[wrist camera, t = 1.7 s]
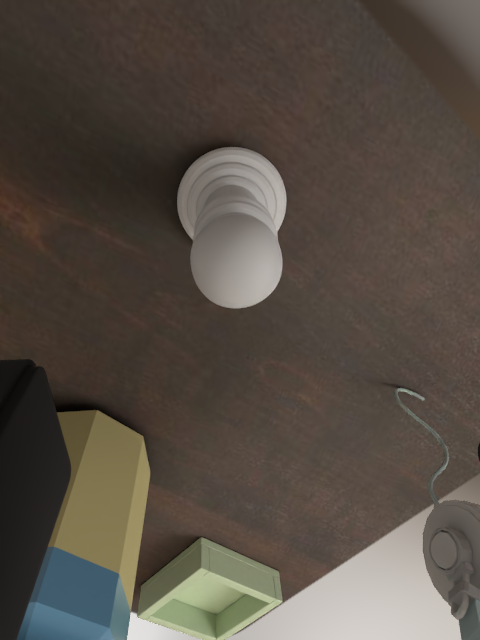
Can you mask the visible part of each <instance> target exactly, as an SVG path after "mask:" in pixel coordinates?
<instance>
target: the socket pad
mask: <svg viewBox="0 0 480 640" xmlns="http://www.w3.org/2000/svg"><path fill="white" fill-rule="evenodd" d="M140 592H141V593H140V599H139V607H138V614H137V617H138V618H141V619H144V620H147V621H149V622H153V623H155V624H158V625H161V626H164V627H167V628H170V629H173V630H176V631H179V632H182V633H185V634H188V635H191V636H194V637H197V638H199V639H202V640H225V639H227V638H228V637H230V636H232V635H233V634H235V633H236V632H238V631H239V630H241V629H242V628H244V627H245V626H247V625H248V624H250V623H251V622H253V621H254V620H256V619H257V618H259V617H261V616H262V615H264V614H265V613H267V612H268V611H270V610H271V609H273V608H274V607H276V606H277V605H279V604H280V603H282V594H281V586H280V579H279V571H277V570H274V569H272V568H270V567H268V566H265V565H263V564H261V563H259V562H257V561H254V560H252V559H250V558H248V557H245V556H243V555H241V554H239V553H236V552H234V551H232V550H230V549H227V548H225V547H223V546H221V545H219V544H216V543H214V542H212V541H210V540H207V539H205V538H203V537H201V538H199V539H198V540H197V541H196V542H194V543H193V544H192V545H191V546H189V547H188V548H187V549H186V550H185V551H183V552H182V553H181V554H180V555H178V556H177V557H176V558H175V559H173V560H172V561H171V562H170V563H168V564H167V565H166V566H165V567H164V568H162V569H161V570H160V571H159V572H157V573H156V574H155V575H154V576H152V577H151V578H150V579H149V580H147V581H146V582H145V583H144V584H143V585H141V591H140Z"/></svg>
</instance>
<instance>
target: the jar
mask: <svg viewBox="0 0 480 640" xmlns="http://www.w3.org/2000/svg"><path fill="white" fill-rule="evenodd" d="M57 415H58V419H59V422H60V426H61V430H62V433H63V437H64V440H65V444H66V448H67V451H68V455H69V458H70V462H71V477H70V482H69V485H68V488H67V491H66V494H65V497H64V500H63V503H62V506H61V509H60V512H59V515H58V518H57V521H56V524H55V527H54V530H53V533H52V536H51V539H50V542H49V545H48V548H47V551H46V554H45V556H44V559H43V562H42V565H41V568H40V571H39V574H38V577H37V580H36V583H35V586H34V589H33V592H32V595H31V598H30V601H29V604H28V607H27V610H26V613H25V616H24V619H23V622H22V625H21V628H20V631H19V634H18V637H17V640H127V634H128V627H129V619H130V613H131V606H132V599H133V592H134V585H135V578H136V571H137V564H138V557H139V550H140V543H141V536H142V529H143V522H144V515H145V508H146V501H147V494H148V487H149V480H150V468H149V463H148V458H147V453H146V448H145V443H144V438H143V436H142V435H140V434H138V433H136V432H135V431H133V430H131V429H130V428H128V427H126V426H124V425H123V424H121V423H119V422H117V421H116V420H114V419H112V418H110V417H109V416H107V415H105V414H103V413H102V412H100V411H98V410H89V411H73V412H57Z"/></svg>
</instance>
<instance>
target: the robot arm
mask: <svg viewBox="0 0 480 640" xmlns="http://www.w3.org/2000/svg"><path fill="white" fill-rule="evenodd" d="M478 457H479V460H480V444H479V447H478ZM70 477H71V462H70V458H69V455H68V451H67V448H66V444H65V440H64V437H63V433H62V430H61V426H60V422H59V419H58V415H57V411H56V408H55V404H54V401H53V397H52V393H51V390H50V386H49V383H48V379H47V375H46V372H45V370H44V368H43V367H36V365H35V363H34V362H33V361H32V360H30V359H26V360H0V640H17V637H18V634H19V631H20V628H21V625H22V622H23V619H24V616H25V613H26V610H27V607H28V604H29V601H30V598H31V595H32V592H33V589H34V586H35V583H36V580H37V577H38V574H39V571H40V568H41V565H42V562H43V559H44V556H45V554H46V551H47V548H48V545H49V542H50V539H51V536H52V533H53V530H54V527H55V524H56V521H57V518H58V515H59V512H60V509H61V506H62V503H63V500H64V497H65V494H66V491H67V488H68V485H69V482H70Z"/></svg>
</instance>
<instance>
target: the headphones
mask: <svg viewBox="0 0 480 640" xmlns="http://www.w3.org/2000/svg"><path fill="white" fill-rule="evenodd" d="M398 391H404V392H406V393H409V394H411V395H414V396H415V397H417V398H419V399H421V400H423V401H424V399H425V398H424V397H422V396H420V395H418V394H416V393H414V392H412V391H410V390H408V389H405V388H398V389H396V390H395V392H394V396H395V399H396V401H397V403H398V404H399V405H400V406H401V407H402V408H403V409H404V410H405V411H406V412H407V413H408V414H410V415H411V416H412V417H413V418H415V419H416V420H417V421H418V422H419V423H421V424H422V425H423V426H424V427H426V428H427V429H428V430H429V431H430V432H431V433H432V434H433V435H434V436H435V437H436V438H437V439H438V441H439V442H440V443H441V446H442V448H443V450H444V457H445V459H444V461H443V464H442V466H441V467H440V468H439V469H438V470H437V471H436V472H435V473H434V474H433V475H432V476H431V478H430V480H429V482H428V492H429V495H430V497H431V499H432V501H433V503H434V509H433V510H432V512H431V513H430V515H429V517H428V518H427V521H426V525H425V528H424V532H423V553H424V558H425V563H426V568H427V571H428V573H429V576H430V578H431V580H432V582H433V585H434V586H435V588H436V589H437V590H438V592H439V593H440V594H441V596H442V597H443V599H444V600H445V601H446V602H448V604H449V605H450V606H451V613H452V615H453V616H454V617H455V618H456V619H459V625H460V632H461V638H462V640H480V505H478V504H475V503H470V502H467V501H458V500H452V501H444V502H442V503H440V504H439V502H438V500H437V498H436V496H435V494H434V492H433V490H432V489H433V481H434V480H435V478H436V477H437V476H438V475H439V474H440V473H441V472H442V471H443V470H444V469H445V468H446V466H447V465H448V461H449V455H448V450H447V448H446V446H445V443H444V441H443V440H442V439H441V437H440V436H439V435H438V434H437V433H436V432H435V431H434V430H433V429H432V428H431V427H430V426H429V425H427V424H426V423H425V422H424V421H422V420H421V419H420V418H419V417H417V416H416V415H415V414H414V413H412V412H411V411H410V410H409V409H408V408H407V407H406V406H405V405H404V404H403V403H402V402H401V401H400V399H399V397H398Z"/></svg>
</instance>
